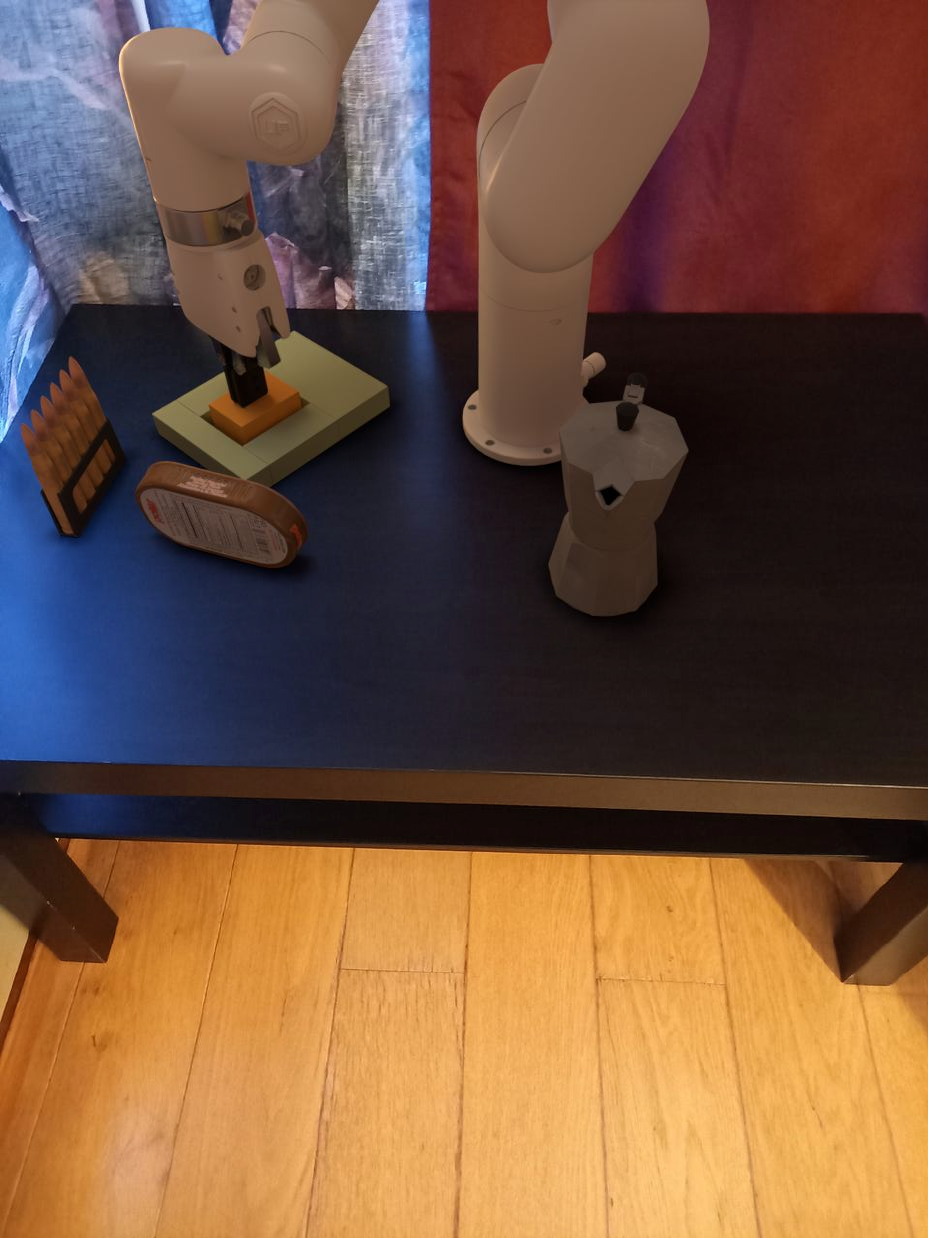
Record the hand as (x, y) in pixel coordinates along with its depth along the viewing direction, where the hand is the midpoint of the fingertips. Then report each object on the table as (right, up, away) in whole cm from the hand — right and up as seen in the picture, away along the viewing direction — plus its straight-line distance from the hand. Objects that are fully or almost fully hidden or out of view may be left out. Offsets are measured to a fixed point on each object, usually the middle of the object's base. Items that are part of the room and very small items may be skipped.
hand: (250, 397), depth 89 cm
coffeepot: (+32, -17, -9) cm, 37 cm away
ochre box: (0, -2, +3) cm, 4 cm away
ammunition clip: (-14, -10, -2) cm, 17 cm away
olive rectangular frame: (+2, -1, +4) cm, 5 cm away
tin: (0, -15, -7) cm, 17 cm away
